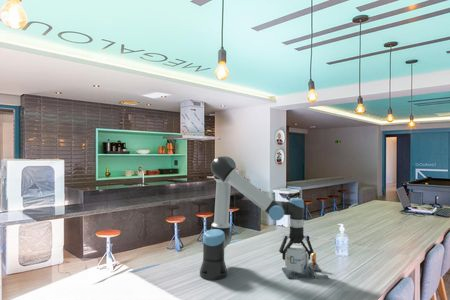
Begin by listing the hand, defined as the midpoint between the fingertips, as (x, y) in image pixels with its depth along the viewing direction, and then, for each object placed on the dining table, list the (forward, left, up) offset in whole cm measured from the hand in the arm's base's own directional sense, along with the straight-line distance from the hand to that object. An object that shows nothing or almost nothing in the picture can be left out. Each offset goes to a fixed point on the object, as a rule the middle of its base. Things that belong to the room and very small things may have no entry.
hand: (296, 265), depth 171 cm
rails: (+12, +1, -5) cm, 13 cm away
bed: (0, 0, -5) cm, 5 cm away
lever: (+12, +6, -5) cm, 14 cm away
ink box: (0, 0, -2) cm, 2 cm away
